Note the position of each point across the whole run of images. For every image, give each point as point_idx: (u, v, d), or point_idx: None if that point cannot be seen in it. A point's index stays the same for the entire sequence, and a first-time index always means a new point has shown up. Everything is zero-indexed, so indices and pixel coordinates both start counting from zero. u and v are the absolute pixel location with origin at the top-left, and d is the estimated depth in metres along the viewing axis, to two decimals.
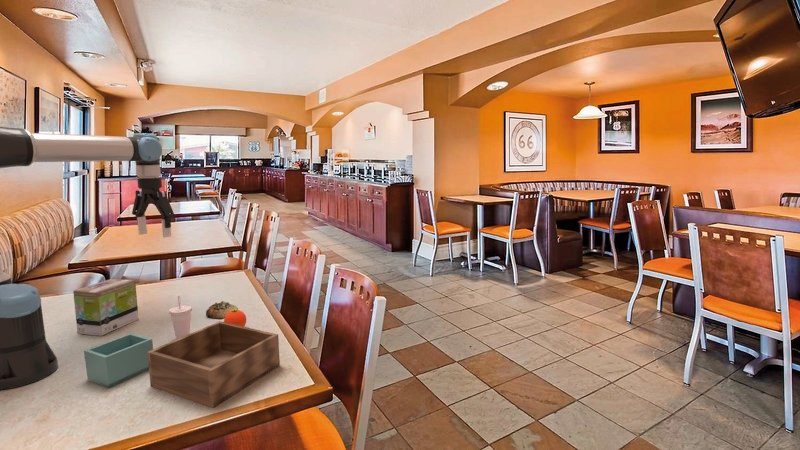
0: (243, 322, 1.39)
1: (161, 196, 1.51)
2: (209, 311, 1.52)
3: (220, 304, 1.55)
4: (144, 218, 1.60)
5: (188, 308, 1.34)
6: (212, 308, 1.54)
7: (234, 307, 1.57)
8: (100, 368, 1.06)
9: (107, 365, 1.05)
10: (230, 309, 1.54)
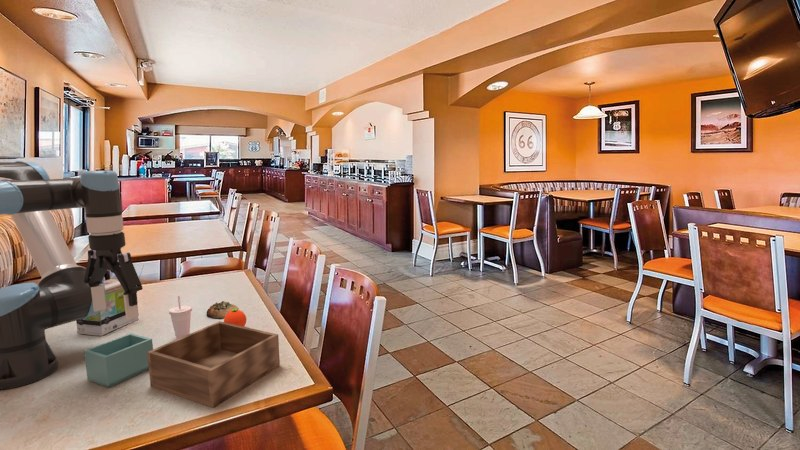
0: (243, 322, 1.39)
1: (122, 261, 1.04)
2: (210, 311, 1.53)
3: (221, 304, 1.55)
4: (102, 288, 1.13)
5: (188, 308, 1.34)
6: (213, 308, 1.54)
7: (235, 307, 1.57)
8: (100, 368, 1.06)
9: (107, 365, 1.05)
10: (231, 309, 1.54)
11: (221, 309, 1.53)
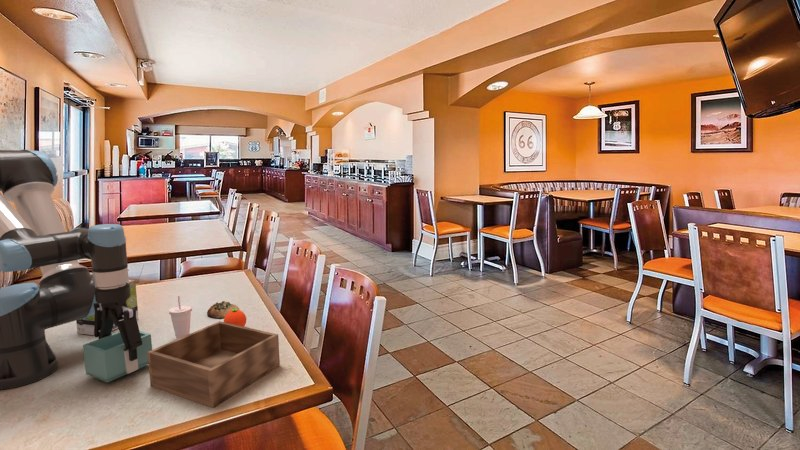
0: (243, 322, 1.39)
1: (127, 318, 1.07)
2: (210, 311, 1.53)
3: (221, 304, 1.55)
4: None
5: (188, 308, 1.34)
6: (213, 308, 1.54)
7: (235, 307, 1.57)
8: (99, 362, 1.06)
9: (106, 360, 1.05)
10: (231, 309, 1.54)
11: (222, 309, 1.53)
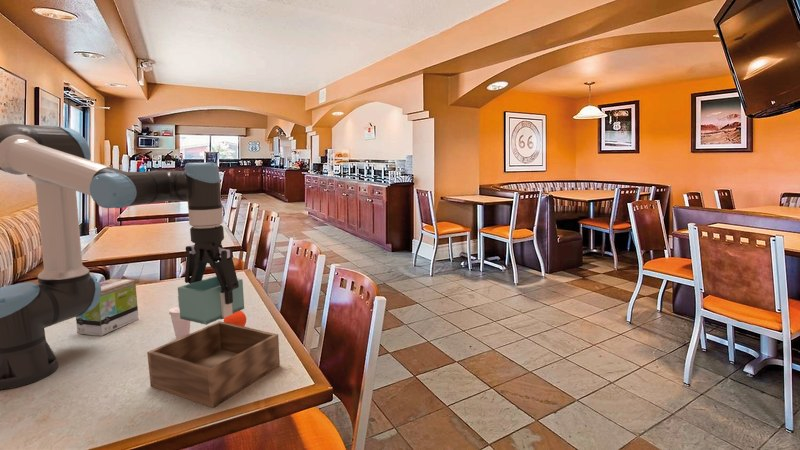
0: (243, 322, 1.39)
1: (225, 258, 1.03)
2: None
3: None
4: None
5: None
6: None
7: None
8: (196, 304, 1.02)
9: (205, 300, 1.01)
10: None
11: None
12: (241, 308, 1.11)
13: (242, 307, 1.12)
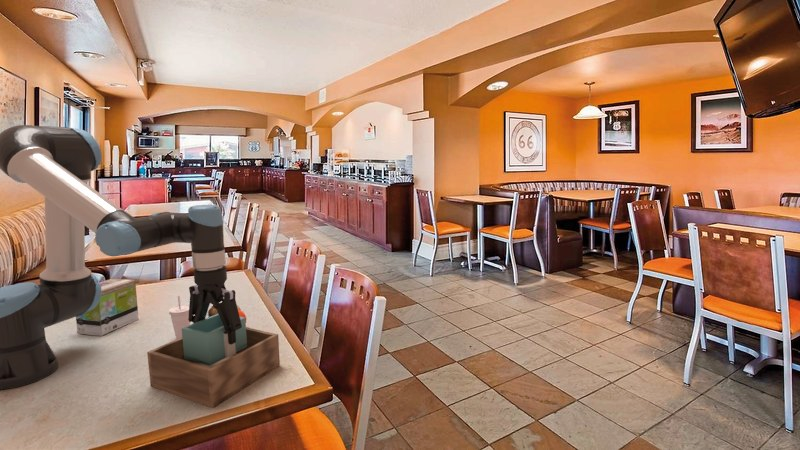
0: None
1: (228, 300, 1.05)
2: (211, 311, 1.53)
3: None
4: None
5: (188, 308, 1.34)
6: (214, 308, 1.54)
7: None
8: (200, 345, 1.04)
9: (208, 342, 1.03)
10: None
11: None
12: (244, 346, 1.13)
13: (245, 345, 1.13)
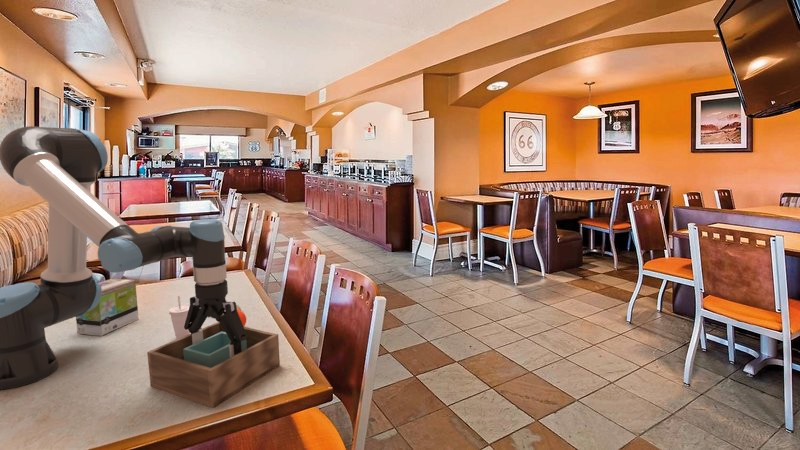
0: (243, 322, 1.39)
1: (230, 311, 1.05)
2: None
3: None
4: (201, 333, 1.14)
5: (188, 308, 1.34)
6: None
7: (236, 306, 1.57)
8: None
9: (210, 364, 1.04)
10: None
11: None
12: None
13: None
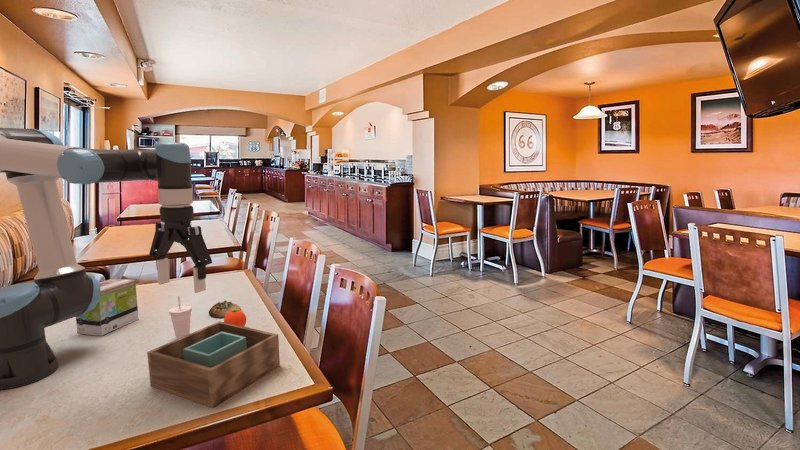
0: (243, 322, 1.39)
1: (194, 234, 1.04)
2: (212, 310, 1.53)
3: (223, 303, 1.56)
4: (166, 261, 1.13)
5: (188, 308, 1.34)
6: (215, 307, 1.54)
7: (237, 306, 1.57)
8: None
9: (210, 364, 1.04)
10: (233, 308, 1.54)
11: (223, 308, 1.53)
12: None
13: None
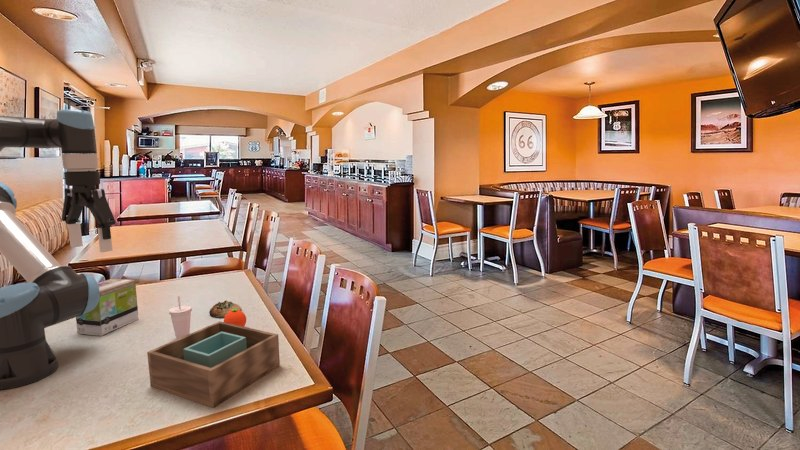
0: (243, 322, 1.39)
1: (96, 196, 1.10)
2: (212, 310, 1.53)
3: (223, 303, 1.56)
4: (78, 226, 1.19)
5: (188, 308, 1.34)
6: (215, 307, 1.55)
7: (237, 306, 1.57)
8: None
9: (210, 364, 1.04)
10: (233, 308, 1.54)
11: (224, 308, 1.53)
12: None
13: None
